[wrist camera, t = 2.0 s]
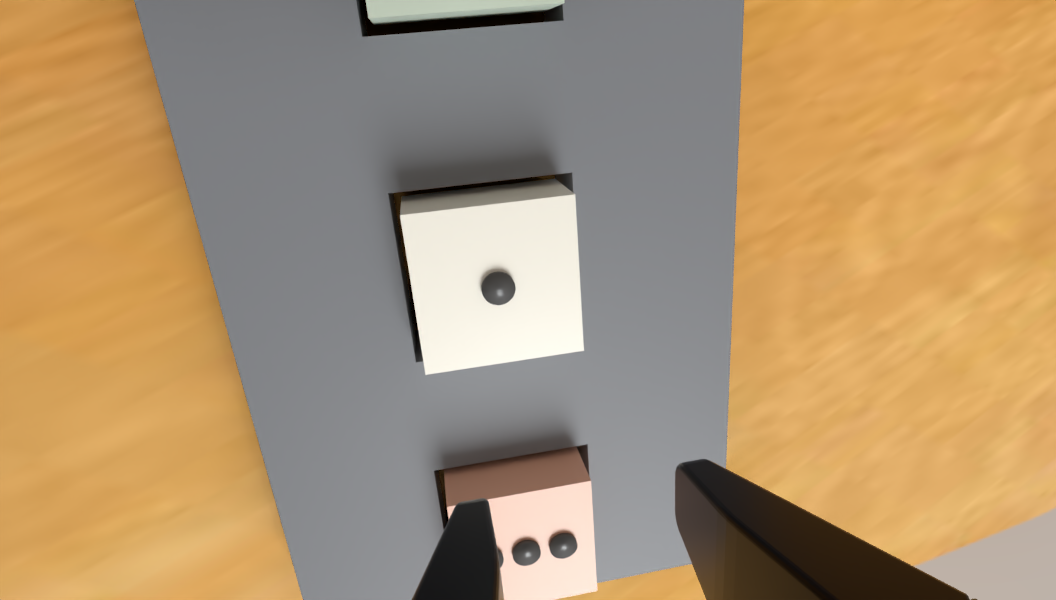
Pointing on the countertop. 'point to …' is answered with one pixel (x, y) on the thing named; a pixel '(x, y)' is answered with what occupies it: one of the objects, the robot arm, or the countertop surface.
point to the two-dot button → (450, 9)
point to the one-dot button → (494, 273)
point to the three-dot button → (535, 520)
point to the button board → (380, 274)
